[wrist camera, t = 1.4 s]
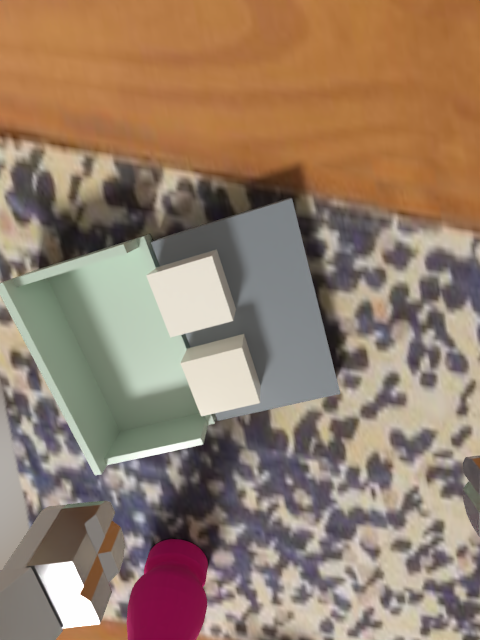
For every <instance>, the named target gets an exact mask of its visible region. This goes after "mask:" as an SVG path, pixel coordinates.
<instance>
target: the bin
mask: <svg viewBox="0 0 480 640" xmlns="http://www.w3.org/2000/svg"><path fill="white" fill-rule="evenodd" d="M151 242H153V240H152V238H151V235H150V234H148V235H145V236H141V237H138V238H135V239H132V240H129V241H126V242H122V243H119V244H116V245H113V246H110V247H107V248H103V249H100V250H97V251H94V252H91V253H88V254H84V255H81V256H78V257H75V258H72V259H69V260H65V261H62V262H59V263H56V264H53V265H50V266H46V267H43V268H40V269H37V270H34V271H32V272H29V273H26V274H24V275H21V276H18V277H16V278H13V279H10V280H8V281H5V282H2V283H0V296H1V298H2V299H3V301H4V303H5V305H6V307H7V309H8V311H9V313H10V315H11V317H12V319H13V320H14V322H15V324H16V326H17V328H18V330H19V332H20V334H21V336H22V338H23V339H24V341H25V343H26V345H27V347H28V349H29V351H30V353H31V355H32V357H33V358H34V360H35V362H36V364H37V366H38V368H39V370H40V372H41V374H42V376H43V378H44V379H45V381H46V383H47V385H48V387H49V389H50V391H51V393H52V395H53V397H54V398H55V400H56V402H57V404H58V406H59V408H60V410H61V412H62V414H63V416H64V418H65V419H66V421H67V423H68V425H69V427H70V429H71V431H72V433H73V435H74V437H75V438H76V440H77V442H78V444H79V446H80V448H81V450H82V452H83V454H84V456H85V458H86V459H87V461H88V463H89V465H90V467H91V469H92V471H93V473H94V475H100V474H102V473H103V471H104V469H105V468H106V466H107V465H110V464H114V463H119V462H124V461H128V460H133V459H138V458H143V457H147V456H152V455H157V454H161V453H166V452H171V451H175V450H180V449H185V448H189V447H194V446H199V445H203V444H204V440H205V436H206V431H207V427H208V425H211V424H215V420H216V415H215V413H214V414H210V415H205V416H201V415H200V412H199V410H198V407H197V405H196V402H195V400H194V397H193V394H192V392H191V389H190V387H189V384H188V382H187V379H186V376H185V374H184V371H183V369H182V366H181V364H180V363H181V361H182V359H183V357H184V354H185V352H186V350H187V348H190V345H189V343H188V340H187V337H186V335H185V334H182V335H178V336H175V337H171V338H170V335H169V333H168V330H167V328H166V325H165V323H164V320H163V317H162V315H161V312H160V310H159V307H158V305H157V302H156V299H155V297H154V294H153V292H152V289H151V287H150V284H149V282H148V279H147V276H146V275H147V274H149V273H150V272H151V271H153V270H154V269H155V268H156V267H160V265H159V263H158V260H157V257H156V255H155V252H154V249H153V247H152V244H151Z"/></svg>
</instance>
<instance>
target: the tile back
mask: <svg viewBox="0 0 480 640" xmlns="http://www.w3.org/2000/svg"><path fill="white" fill-rule="evenodd" d="M180 364H181V366H182V369H183V371H184V374H185V376H186V379H187V382H188V384H189V387H190V389H191V392H192V394H193V397H194V400H195V402H196V405H197V407H198V410H199V412H200V415H201V416H205V415H210V414H214V413H219V412H223V411H228V410H232V409H236V408H241V407H245V406H250V405H254V404H258V403H260V388H261V385H260V382H259V379H258V376H257V373H256V370H255V367H254V364H253V360H252V357H251V354H250V351H249V348H248V345H247V342H246V339H245V336H244V334H241V335H238V336H234V337H230V338H226V339H222V340H218V341H214V342H210V343H207V344H203V345H199V346H195V347H191V348H187V350H186V352H185V354H184V357H183V359H182V361H181V363H180Z"/></svg>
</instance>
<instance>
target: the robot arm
mask: <svg viewBox="0 0 480 640" xmlns="http://www.w3.org/2000/svg"><path fill="white" fill-rule="evenodd" d="M463 473H464V474H465V476H466V477H467V479H468V480H469V482H468V483H467V484H466V486H465V487H464V488H463V501H464V505H465V509H466V512H467V515H468V517H469V520H470V522H471V524H472V526H473V527H474V529H475V531H476V532H477V534H478V536H480V456H472V457H465V460H464V462H463ZM114 514H115V511H114V509H113V507H112V505H111V502H108V501H98V502H87V503H77V504H67V505H61V506H49V507H47V508H45V509H44V510H42V511H41V513H40V514H39V516H38V517H37V519H36V520H35V522H34V523H33V525H32V526H31V528H30V529H29V530H28V532H27V533H26V535H25V536H24V538H23V539H22V541H21V542H20V544H19V545H18V547H17V548H16V550H15V551H14V553H13V554H12V556H11V557H10V559H9V560H8V562H7V563H6V565H5V566H4V568H3V569H2V570H0V640H56V638H57V637H58V636H59V635H60V633H61V632H62V631H63V630H62V628H69V627H77V626H85V625H93V624H100V623H101V620H102V618H103V615H104V612H105V609H106V607H107V604H108V601H109V598H110V596H111V593H112V590H111V587H110V584H109V582H110V581H111V580H112V579H113V578H114V577H115V576H116V575H117V574H118V573H119V571H120V568H121V565H122V562H123V557H124V548H125V543H124V536H123V533H122V530H121V527H120V526H118V525H117V524H116V523H114V522H113V521H112V519H113V517H114Z"/></svg>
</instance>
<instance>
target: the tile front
mask: <svg viewBox="0 0 480 640" xmlns="http://www.w3.org/2000/svg"><path fill="white" fill-rule="evenodd" d="M146 276H147V279H148V282H149V284H150V287H151V289H152V292H153V294H154V297H155V299H156V302H157V305H158V307H159V310H160V312H161V315H162V317H163V320H164V323H165V325H166V328H167V330H168V333H169V335H170V338H171V337H175V336H178V335H182V334H186V333H190V332H193V331H197V330H201V329H205V328H208V327H212V326H216V325H220V324H224V323H227V322H231V321H233V320H234V315H235V311H236V308H235V304H234V301H233V298H232V295H231V292H230V289H229V286H228V283H227V280H226V276H225V273H224V270H223V267H222V264H221V261H220V258H219V255H218V252H217V249H216V250H213V251H210V252H206V253H203V254H200V255H196V256H193V257H190V258H186V259H183V260H180V261H176V262H173V263H170V264H166V265H163V266H160V267H156V268H155V269H154V270H153V271H151V272H150V273H149V274H147V275H146Z"/></svg>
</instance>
